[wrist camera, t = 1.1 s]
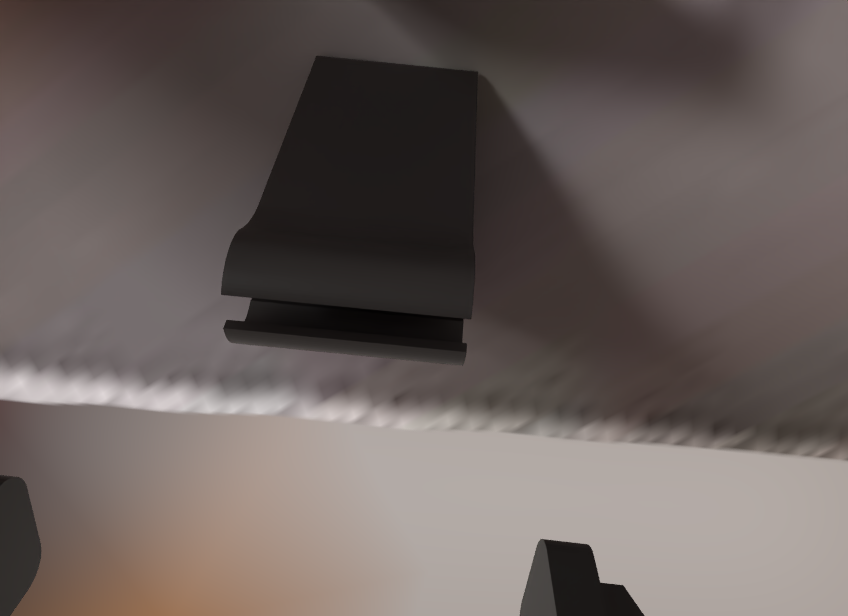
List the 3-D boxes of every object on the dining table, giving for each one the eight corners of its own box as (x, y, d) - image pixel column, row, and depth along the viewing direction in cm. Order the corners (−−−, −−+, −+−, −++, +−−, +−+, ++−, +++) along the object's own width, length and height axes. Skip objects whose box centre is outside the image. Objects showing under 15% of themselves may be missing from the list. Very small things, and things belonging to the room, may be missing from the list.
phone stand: (318, 53, 24) (209, 119, 13) (478, 70, 24) (497, 150, 13) (314, 272, 28) (229, 455, 17) (451, 286, 28) (448, 478, 17)
